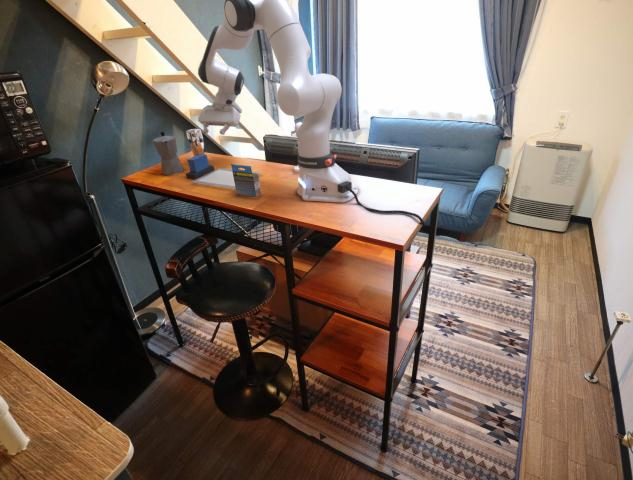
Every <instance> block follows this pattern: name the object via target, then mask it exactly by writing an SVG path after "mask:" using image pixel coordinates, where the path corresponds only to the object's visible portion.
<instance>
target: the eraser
mask: <svg viewBox="0 0 633 480" xmlns="http://www.w3.org/2000/svg"><path fill="white" fill-rule="evenodd" d="M186 160H187V165H188V169H189V171H188V172H185V176H186V179H189V180H194V181H195V180H197V179H199V178H201V177H203V176H205V175H207V174H209V173H211V172H213V171H215V170H216V169H215V166H214V165H212V164H210V163H209V159H208V155H207V153H206V154H199V155H197V156H192V157H189V158H188V159H186Z"/></svg>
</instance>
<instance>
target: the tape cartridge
mask: <svg viewBox="0 0 633 480" xmlns="http://www.w3.org/2000/svg"><path fill="white" fill-rule="evenodd" d="M230 167H231V170H232V172H233V177H234V182H235V187H236V188H235V191H236V192H235V193H236V194H237V195H241V196H242V195H243V196H247V197H258V196H259V195H261V194H262V188H261V182H260V176H259V175H260V174H259V175H258V174H256V173H257V172H256V173H252V172H253V169H252V166H251V165H243V164H234V163H231V164H230Z"/></svg>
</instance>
